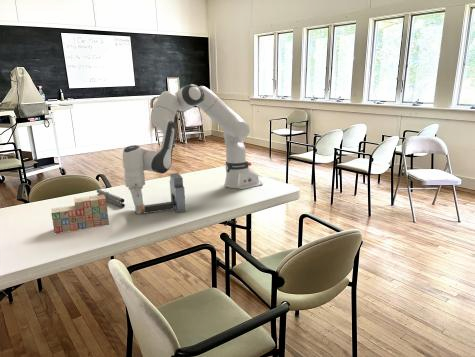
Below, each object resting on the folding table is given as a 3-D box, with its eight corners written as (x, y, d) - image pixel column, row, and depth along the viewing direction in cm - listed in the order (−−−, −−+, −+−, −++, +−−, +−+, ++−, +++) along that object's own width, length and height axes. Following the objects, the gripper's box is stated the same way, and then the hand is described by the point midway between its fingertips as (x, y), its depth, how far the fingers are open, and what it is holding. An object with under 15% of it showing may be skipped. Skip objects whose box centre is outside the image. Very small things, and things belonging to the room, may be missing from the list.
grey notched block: (179, 202, 180) (177, 171, 176) (185, 211, 167) (183, 179, 162) (171, 203, 179) (169, 172, 175) (177, 213, 165) (175, 180, 161)
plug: (172, 206, 174) (171, 199, 173) (174, 209, 170) (173, 201, 169) (135, 211, 168) (134, 204, 167) (136, 214, 164) (135, 206, 163)
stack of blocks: (54, 234, 145) (49, 206, 142) (54, 228, 150) (50, 201, 147) (109, 224, 153) (106, 198, 150) (107, 220, 159) (104, 194, 156)
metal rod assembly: (125, 207, 175) (124, 197, 174) (120, 208, 173) (119, 199, 172) (101, 196, 192) (100, 187, 191) (96, 198, 190) (95, 189, 189)
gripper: (144, 186, 154) (147, 216, 158) (139, 175, 172) (142, 202, 176) (129, 188, 152) (133, 218, 155) (126, 176, 170) (129, 204, 174)
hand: (137, 209), depth 166 cm, fingers open, 8 cm apart
